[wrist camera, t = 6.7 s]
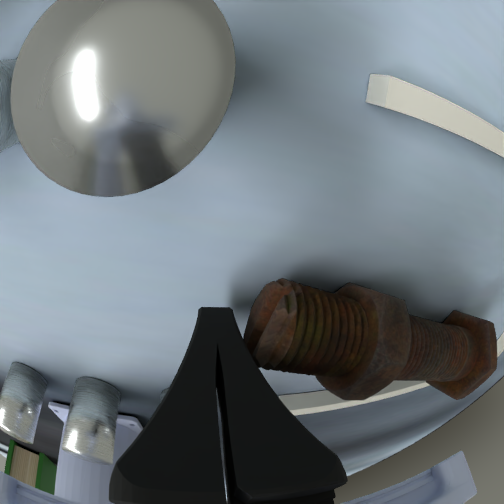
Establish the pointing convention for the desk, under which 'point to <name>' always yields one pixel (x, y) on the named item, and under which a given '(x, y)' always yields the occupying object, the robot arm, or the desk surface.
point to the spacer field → (109, 140)
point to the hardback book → (31, 468)
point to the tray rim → (442, 115)
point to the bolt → (366, 341)
